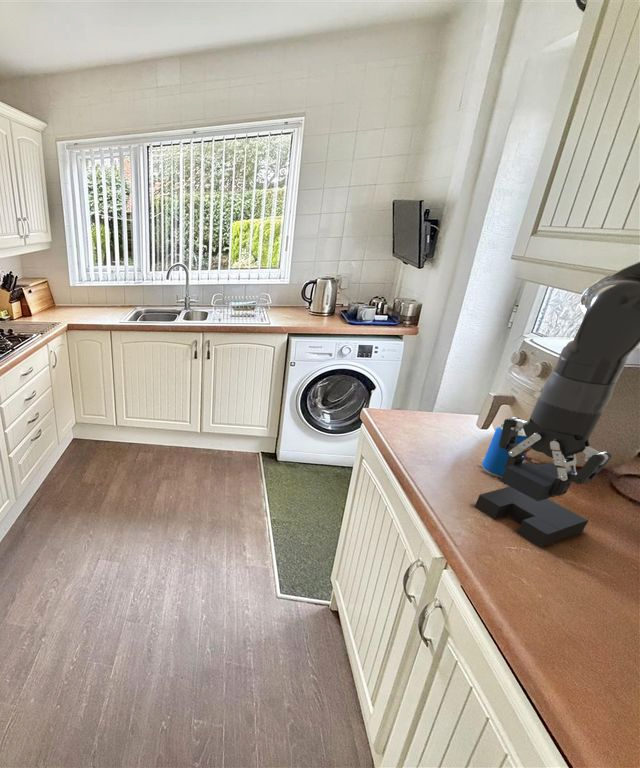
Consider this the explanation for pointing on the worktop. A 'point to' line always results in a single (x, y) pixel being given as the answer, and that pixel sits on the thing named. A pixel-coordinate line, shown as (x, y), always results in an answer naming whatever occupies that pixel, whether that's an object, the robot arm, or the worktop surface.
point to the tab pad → (531, 479)
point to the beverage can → (499, 453)
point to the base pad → (532, 515)
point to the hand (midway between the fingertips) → (531, 483)
